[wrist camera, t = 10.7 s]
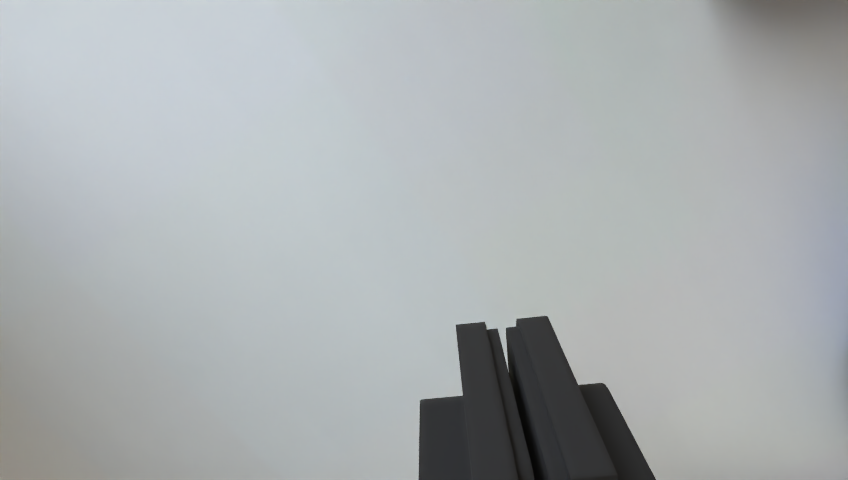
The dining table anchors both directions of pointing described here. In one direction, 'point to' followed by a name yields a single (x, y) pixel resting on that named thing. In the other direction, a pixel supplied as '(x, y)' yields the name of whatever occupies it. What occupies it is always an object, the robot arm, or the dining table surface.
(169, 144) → the dining table surface
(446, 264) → the dining table surface
